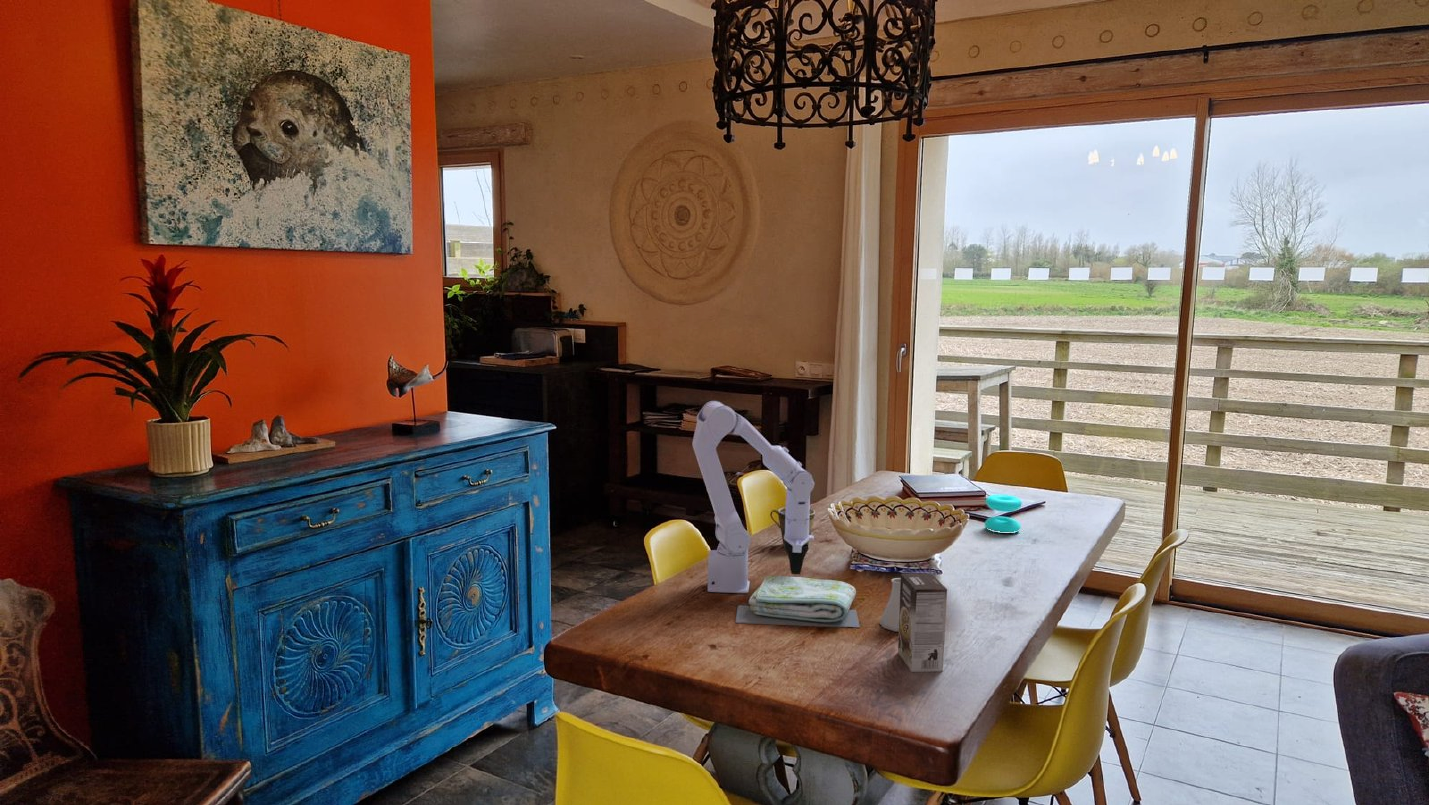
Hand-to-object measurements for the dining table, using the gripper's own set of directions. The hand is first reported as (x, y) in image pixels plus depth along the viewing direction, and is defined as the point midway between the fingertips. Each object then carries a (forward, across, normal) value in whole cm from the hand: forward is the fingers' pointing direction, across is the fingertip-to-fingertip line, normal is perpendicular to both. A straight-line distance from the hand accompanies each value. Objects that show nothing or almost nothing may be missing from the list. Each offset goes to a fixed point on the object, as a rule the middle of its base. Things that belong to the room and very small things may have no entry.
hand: (795, 573), depth 216 cm
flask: (+3, -25, -21) cm, 33 cm away
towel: (+2, -17, -2) cm, 17 cm away
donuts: (+2, +54, -61) cm, 82 cm away
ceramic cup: (+3, +31, +1) cm, 31 cm away
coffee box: (+3, -43, -23) cm, 49 cm away
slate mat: (+2, -22, 0) cm, 22 cm away
